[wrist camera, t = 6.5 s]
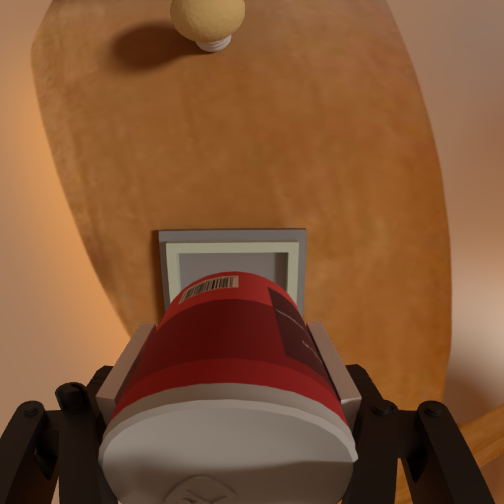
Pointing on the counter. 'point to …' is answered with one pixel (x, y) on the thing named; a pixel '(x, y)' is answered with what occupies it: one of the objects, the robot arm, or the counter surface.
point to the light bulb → (207, 21)
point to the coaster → (233, 257)
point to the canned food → (229, 406)
